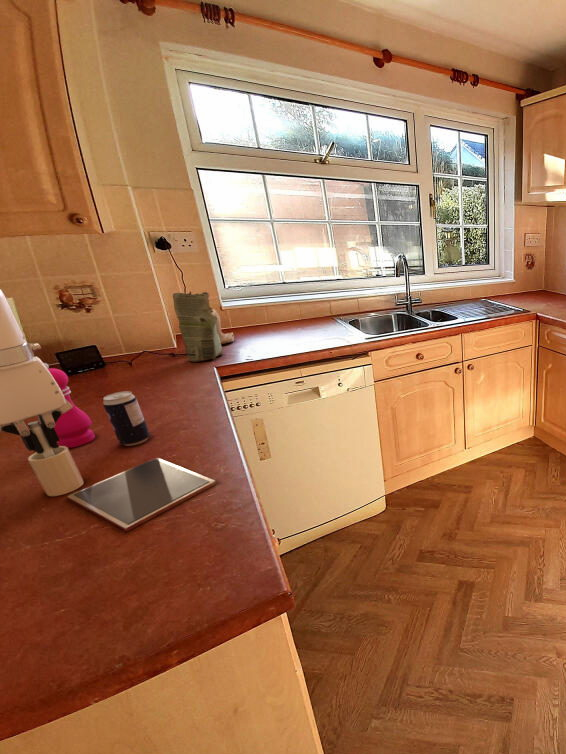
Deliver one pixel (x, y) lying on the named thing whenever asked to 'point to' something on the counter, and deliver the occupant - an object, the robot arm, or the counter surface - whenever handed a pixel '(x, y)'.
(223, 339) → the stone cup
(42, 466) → the pen pot
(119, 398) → the beverage can
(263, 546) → the counter surface
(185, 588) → the counter surface
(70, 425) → the pepper mill
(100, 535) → the counter surface
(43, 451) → the robot arm
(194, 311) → the pouch
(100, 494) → the tablet
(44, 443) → the stylus
